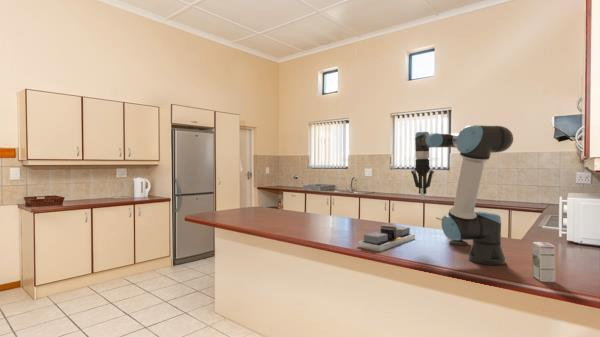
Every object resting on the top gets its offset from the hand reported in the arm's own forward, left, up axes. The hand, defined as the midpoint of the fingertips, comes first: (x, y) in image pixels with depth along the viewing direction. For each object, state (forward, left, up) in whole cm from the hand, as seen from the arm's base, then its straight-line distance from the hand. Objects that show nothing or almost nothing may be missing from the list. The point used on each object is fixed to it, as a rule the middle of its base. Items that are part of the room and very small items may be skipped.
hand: (422, 199), depth 190 cm
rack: (+15, +12, -26) cm, 32 cm away
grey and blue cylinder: (-15, -15, -26) cm, 33 cm away
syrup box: (-61, +23, -26) cm, 70 cm away
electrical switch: (+15, +12, -25) cm, 31 cm away
